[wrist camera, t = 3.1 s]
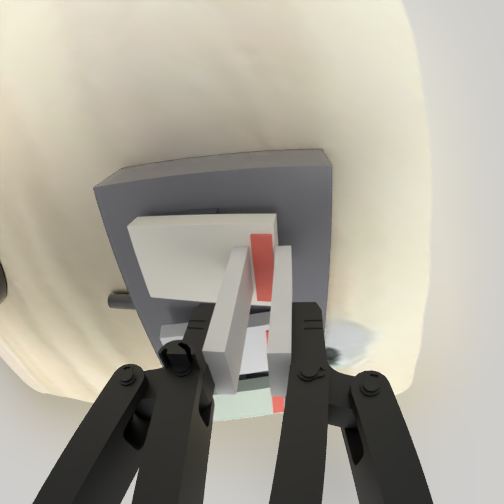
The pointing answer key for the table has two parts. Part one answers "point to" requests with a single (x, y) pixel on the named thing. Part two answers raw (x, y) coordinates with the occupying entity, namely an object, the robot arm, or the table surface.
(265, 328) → the grey rocker
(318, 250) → the rocker switch panel
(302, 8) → the table surface
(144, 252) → the cream rocker
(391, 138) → the table surface
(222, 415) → the sage rocker
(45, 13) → the table surface
